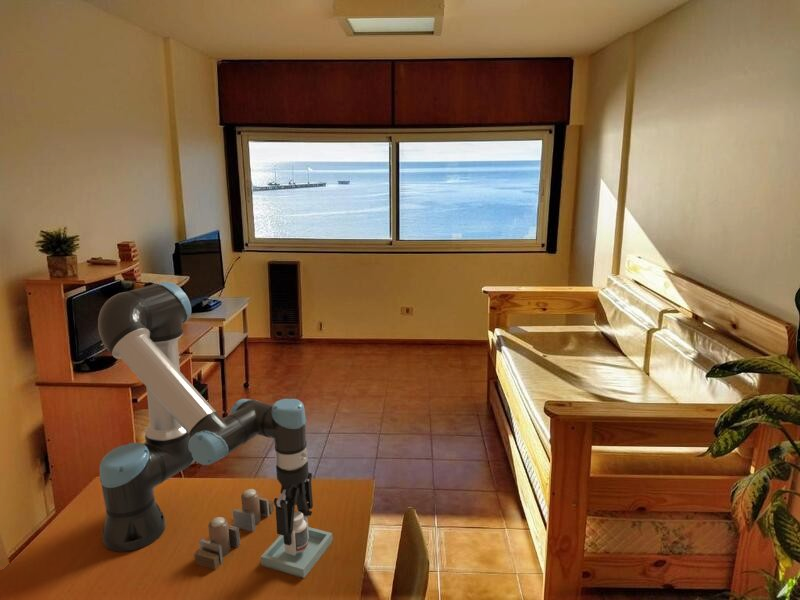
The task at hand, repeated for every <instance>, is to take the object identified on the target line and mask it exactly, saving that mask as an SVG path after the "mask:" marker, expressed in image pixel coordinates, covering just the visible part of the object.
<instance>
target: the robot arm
mask: <svg viewBox="0 0 800 600" xmlns="http://www.w3.org/2000/svg"><path fill="white" fill-rule="evenodd" d="M191 315H192V305H191V302H190V299H189V297H188V295H187V294H186V292H184V290H183V289H182V288H181V287H180V286H179V285H177V284H175V283H173V282H168V281H167V282H166V281H165V282H159V283H151V284H149V285H146V286H143V287H138V288H134V289H131V290H127V291H123V292H122V291H121V292H118V293H117V294H114V295H113V296H111V297H110V298H108V299H107V300H106V301H105V302H104V304H103V305H102V306H101V308H100V311H99V314H98V318H97V329H98V334H99V337H100V340H101V342H102V344H103V346H104V347H105V349H106V350H107V351H108V352H109V353H110V354H111V356H113V358H115V359H116V360H117V359H118V360H122V361H123V362H124V363H125V364H126V365H127V367H128V368H129V369H130V370H131V371H132V372H133V374H134V375H136V377H137V378H138V379H139V381H141V382H142V384H143V385H144V386H146V387H145V388H146V396H147V397H146V398H147V405H148V414H149V415H148V416H149V417H148V418H149V424H148V425H147V427H146V428H145V430H144V440H145V441H144V443H141V442H129V443H127V444H122V445H119V446H117V447H115V448H113V449H112V450H109V452H107V453H106V454H105V455H104V457H102V460H101V461H100V463H99V481H100V484H101V488H102V489H101V490H102V496H103V502H104V508H105V518H104V526H103V529H102V532H101V536H102V543H103V545H104V547H105V548H106V549H108V550H110V551H114V552H119V553H120V552H122V553H123V552H131V551H132V552H133V551H135V550H139V549H142V548H144V547H147V546H148V545H151V544H152V543H154V542H155V541H156V540H157V539H159V537H161V536H162V534H163V533H164V531H165V530H166V518H165V514H164V513H163V511H162V509H161V508H160V506H159V505H158V503H157V501H156V499H155V490H154V489H155V488H156V487H158V486H159V485H160V484H163V483H164V482H166V481H167V480H169V479H170V478H172V477H174V476H175V475H177V474H179V473H180V472H182V471H184V470H186V469H188V468H189V467H190V466H191V465H193V464H194V463H195V462H197V463H198V464H199V465H202V466H210V465H212V464H214V463H216V462H218V461H219V460H222V459H224V458H225V457H227V456H228V455H229V454H230V453H232V452H233V451H235V450H237V448H239V447H241V446H242V445H244V444H246V443H247V442H249V441H251V440H252V439H254V438H255V437H256V436H263V437H265V438H270V439H273V444H274V457H275V460H274V462H275V465H276V466H275V469H276V472H275V473H276V479H277V481H278V482H279V484H280V485H281V489H280V496H279V497H278V498H277V497H275V498H274V500H273V505H274V508H275V520H276V533H277V535H279V536H280V535H283V536H284V544H285V553H288V554H291V555H294V556H295V555H296V540H295V531H294V530H293V521H294V511H296V509H295V508H297V511H300V512H302V513H303V518H304V520H305V521H306V523H307V535H308V539H309V531H308V527H309V517H310V516H312V515H313V511H312V510H311V511H310V509H313V505H314V502H313V491H312V490H313V489H312V478H313V473H312V472H309V461H308V459H309V458H308V448H307V447H308V446H307V445H308V442H307V416H306V411H305V406H304V403H303V402H302V401H301V400H299V399H297V398H283V399H279V400H277V401H275V402H274V403H273V404H271V403H266V402H264V401H263V402H262V401H260V400H256V399H249V398H241V399H238V400H236V402H235V404H234V405H233V406H232V407H231V409H230V412H229V415H226V416H225V417H222V416H221V415H220V414H219V413H218V412H217V411H216V409H214V407H212V406H211V404H209V402H208V401H207V400H206V399H205V398H204V396H202V394H201V393H200V392H199V391H198V390H197V389H196V388H195V387H194V385H192V384H191V382H190V381H189V380H188V379H187V378H186V377H185V375H184V374H183V373H182V372H181V368H180V355H179V354H180V353H179V342H178V341H179V339H181V337H182V336H183V335H184V329H183V328H184V327H183V324H184V323H186V322H187V321H189V318H191Z"/></svg>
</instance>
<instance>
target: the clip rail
mask: <svg viewBox="0 0 800 600" xmlns="http://www.w3.org/2000/svg"><path fill="white" fill-rule="evenodd" d="M259 503H260V515H261V516H263V517H267V518H268V517H270V515H272V514H273V513H274V512H275V504H274V500H270V499H268V498H264V497H260V496H259ZM232 516H233V524H234V525H231V524H230V525H229V524H228V529H229V539H230V547H231V546H232V547H236V548H239V547H240V546H241V539H240V538H241V537H240V529H241V530H244V531H249V532H252V533H253V532H255V531H256V525H255V518H254V513H252V512H248V511H244V510H242V508H241V509H240V508H236V507H235V508H234V509H233V510H232ZM198 543H199V548H198V549H197V550H196V551H195V552H194V553H193V555H194V562H195V564H196V565H199V566H202V567H206V568H208V569H211V570H214V571H216V570H217V569H218V568H219V567H220V566H221V565H222V564H223V563H224V560H223V558H224V557H222V548H221V544H217V543H214V542H211V541H210V540H207V539H205V538H200V539H199V541H198Z"/></svg>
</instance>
